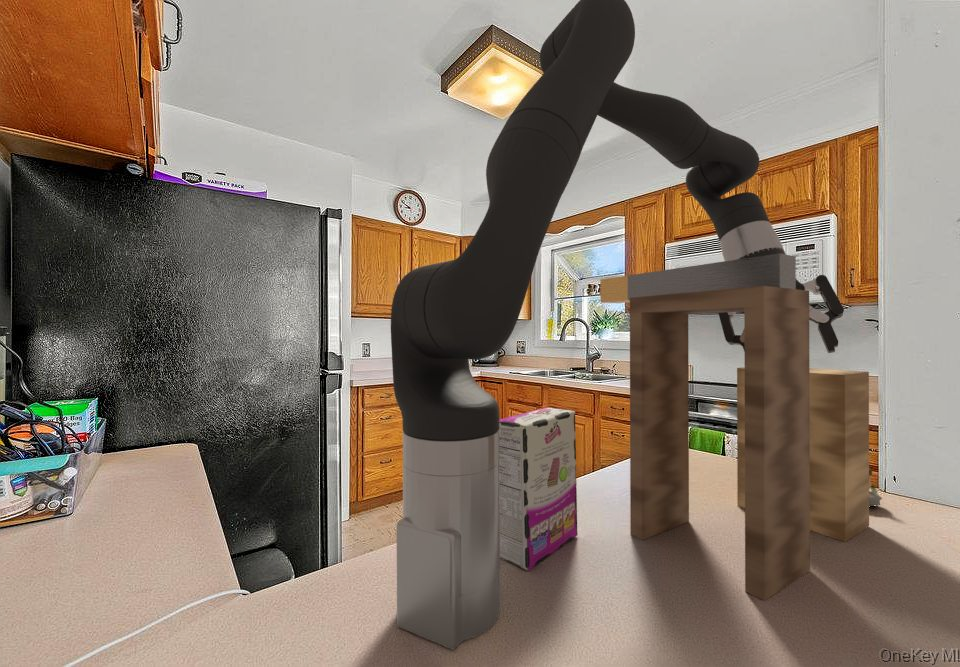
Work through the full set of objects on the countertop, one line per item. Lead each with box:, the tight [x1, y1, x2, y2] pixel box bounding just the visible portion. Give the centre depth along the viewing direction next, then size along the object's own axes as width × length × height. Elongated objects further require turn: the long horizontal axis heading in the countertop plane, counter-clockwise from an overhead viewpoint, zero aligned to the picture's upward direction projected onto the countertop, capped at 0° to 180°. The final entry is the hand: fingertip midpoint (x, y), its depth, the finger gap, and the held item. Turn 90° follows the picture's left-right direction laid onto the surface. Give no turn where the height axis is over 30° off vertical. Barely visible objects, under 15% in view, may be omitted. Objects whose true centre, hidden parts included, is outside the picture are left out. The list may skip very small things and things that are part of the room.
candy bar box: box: [499, 407, 579, 571], centre depth 52 cm, size 11×5×16 cm, turn 137°
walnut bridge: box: [629, 286, 811, 601], centre depth 51 cm, size 10×16×31 cm, turn 31°
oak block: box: [736, 366, 870, 543], centre depth 60 cm, size 13×8×21 cm, turn 31°
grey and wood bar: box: [600, 253, 797, 304], centre depth 54 cm, size 24×4×4 cm, turn 31°
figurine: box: [869, 468, 883, 506], centre depth 64 cm, size 5×4×6 cm
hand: (794, 360), depth 59 cm, fingers open, 8 cm apart
